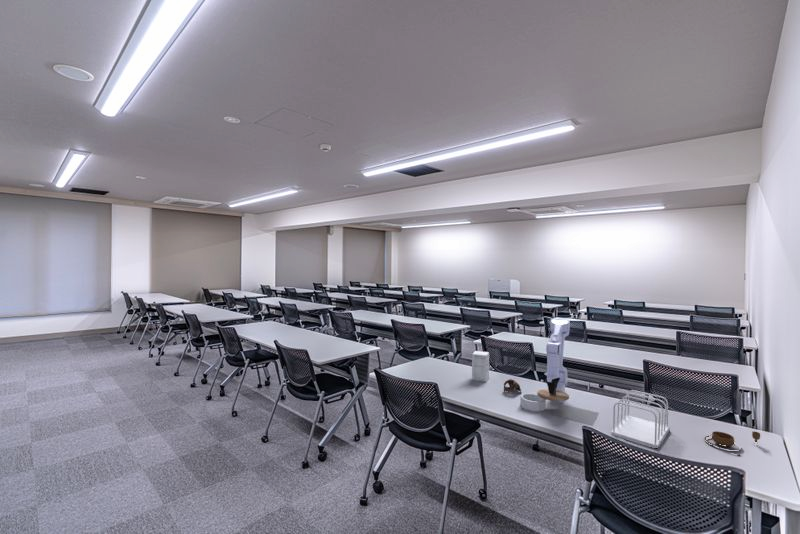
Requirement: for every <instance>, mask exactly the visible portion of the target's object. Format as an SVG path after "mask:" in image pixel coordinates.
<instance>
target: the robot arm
mask: <svg viewBox="0 0 800 534" xmlns="http://www.w3.org/2000/svg"><path fill="white" fill-rule="evenodd" d="M549 323H550V324H549V328H550V332H551V335H550V337H549V340H548V342H547V343H546V348H545V350H546V357H547V360H546V361H547V362H546V365H547V366H546V372H545V373H544V375H545V376H546V378H545V383H546V384H547V385H546V386H547V389H548V390H549V393H551V394H554V391H555V388H556V390H559V391H562V392H565V393H566V385H567V384H568V370H567V368H566V367H565V366H564V365H563V363H564V362H563V361H564V349H565V348H564V347H565V340H566V339H565V338H566V337H567V336H570V329H571V325H570V324H571V322H570V320H568V319H567V320H565V319H554V318H551V319H550V322H549ZM558 402H559V403H563V402H564V401H558Z"/></svg>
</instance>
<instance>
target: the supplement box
mask: <svg viewBox="0 0 800 534" xmlns="http://www.w3.org/2000/svg"><path fill="white" fill-rule="evenodd" d="M471 355H472V356H471V380H472V381H477V382H479V381H480V382H487V381H488V380H489V378H490V352H489V351H479V350H475V351H474V352H473V353H472V354H471Z"/></svg>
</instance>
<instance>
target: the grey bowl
mask: <svg viewBox="0 0 800 534" xmlns="http://www.w3.org/2000/svg"><path fill="white" fill-rule="evenodd" d="M546 403H547V400H546V399H543V398H541V397H539V396H538V395H537V393H536V394H535V393H529V392H528V393H521V395H520V407H521V409H524V410H526V411H531V412H542V411H545V410H546V408H547V407H546Z"/></svg>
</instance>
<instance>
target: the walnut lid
mask: <svg viewBox="0 0 800 534" xmlns="http://www.w3.org/2000/svg"><path fill="white" fill-rule="evenodd" d="M536 394H537V395H538V396H539V397H541V398H543V399H546V401H547V400H548V401H552V402H559V401H563V402H565V401H568V400H569V398H570V394H568V393H567V392H566V391H565V392H562V391H559V390H556V388H555V391H554V394H551V393H549V390H548V388H547V389H540V390H538V391H537V393H536Z"/></svg>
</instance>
